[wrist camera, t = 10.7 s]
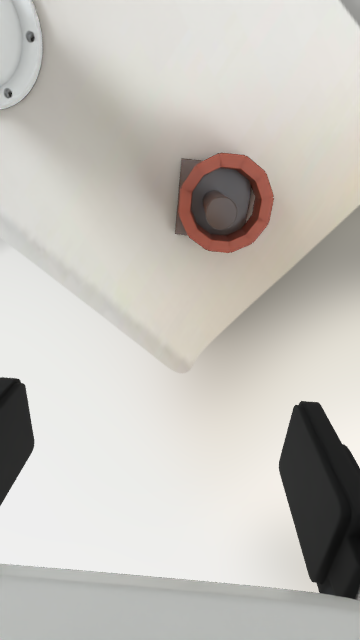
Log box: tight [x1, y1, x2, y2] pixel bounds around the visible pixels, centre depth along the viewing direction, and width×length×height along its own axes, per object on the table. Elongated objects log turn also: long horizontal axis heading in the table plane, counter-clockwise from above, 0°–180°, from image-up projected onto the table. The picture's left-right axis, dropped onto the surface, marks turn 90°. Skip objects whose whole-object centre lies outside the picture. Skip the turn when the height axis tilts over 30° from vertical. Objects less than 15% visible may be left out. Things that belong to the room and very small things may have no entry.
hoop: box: [178, 153, 274, 253], centre depth 34 cm, size 9×9×4 cm
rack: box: [175, 158, 252, 235], centre depth 31 cm, size 8×8×14 cm
